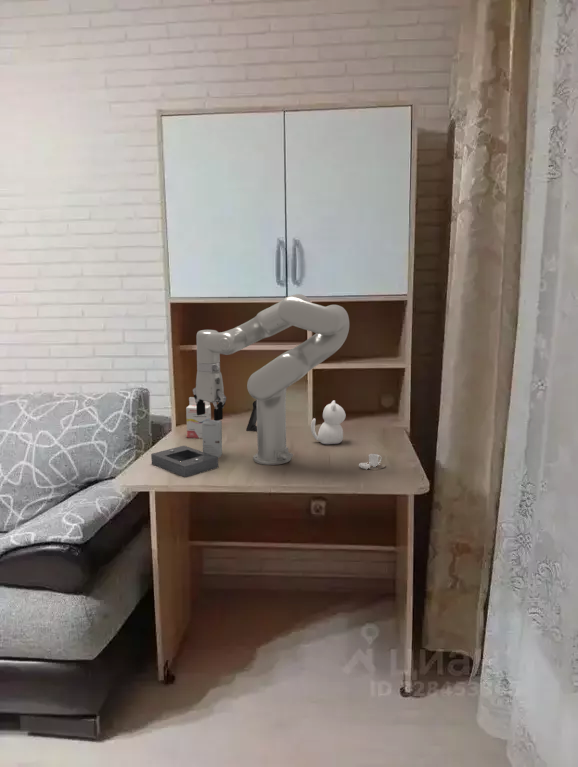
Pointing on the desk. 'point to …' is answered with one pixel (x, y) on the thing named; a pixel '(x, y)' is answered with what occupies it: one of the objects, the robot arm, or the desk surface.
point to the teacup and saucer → (371, 461)
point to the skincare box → (212, 437)
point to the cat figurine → (330, 425)
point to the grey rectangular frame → (184, 461)
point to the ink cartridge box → (196, 418)
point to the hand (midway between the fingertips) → (209, 417)
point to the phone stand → (253, 418)
